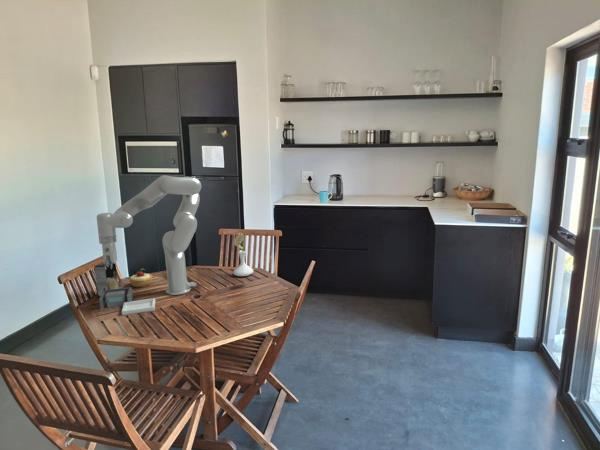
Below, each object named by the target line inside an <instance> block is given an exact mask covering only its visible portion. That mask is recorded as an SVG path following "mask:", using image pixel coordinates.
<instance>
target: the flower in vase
mask: <svg viewBox="0 0 600 450" xmlns="http://www.w3.org/2000/svg"><path fill="white" fill-rule="evenodd" d="M244 238H245V237H244V234H243V232H239V233H238V234H237V235H235V238H234V241H233V242H234V246H235V247H238V248H239V249H240V250H238V251H237V254H238V255H239V258H240V263H239V265H238V266H237V267H236V268H235V269H234V270H233V272H232V273H233V275H234V276H237V277H247V276H251V275H252V274H253V273H254V269H253V268H252V267H250V266H249V265H247V264H246V261H245V258H246V252H247V250H246V247H245V246H244V244H243V243H244V242H243V241H244Z"/></svg>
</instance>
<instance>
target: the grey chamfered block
mask: <svg viewBox="0 0 600 450" xmlns="http://www.w3.org/2000/svg"><path fill="white" fill-rule="evenodd" d="M124 302H127V298H126V297H125V290H123V291H115V292H107V294H106V308H107V307H108V308H113V307H114V308H115V307H121V306H122V307H123V305H124Z"/></svg>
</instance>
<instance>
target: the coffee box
mask: <svg viewBox="0 0 600 450" xmlns="http://www.w3.org/2000/svg"><path fill="white" fill-rule="evenodd" d="M93 266H94V267H93V268H94V273H95V281H96V287H97V295H98V296H99V297H101V294H102V292H103V291H106V290H111V289H119V288H120V285H119V279H118V271H117V270H116V272H113V274H114V277H111V278H106V270H105V269H106V265H105V264H104V261H102V262H100V263H98V264H95V265H93Z"/></svg>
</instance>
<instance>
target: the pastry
mask: <svg viewBox="0 0 600 450" xmlns="http://www.w3.org/2000/svg"><path fill="white" fill-rule="evenodd" d="M142 270H144V271H146V269H144V268H141V269H140V271H137V272H136V274H133V275H132V276H130V278H129V283H130V285H131V286H132V288H145V287H146V288H147V287H149V286H151V285H152V283H153V281H154V278H153V277H154V275H152V274H151V273H146V272H143V271H142ZM150 284H151V285H150Z"/></svg>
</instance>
